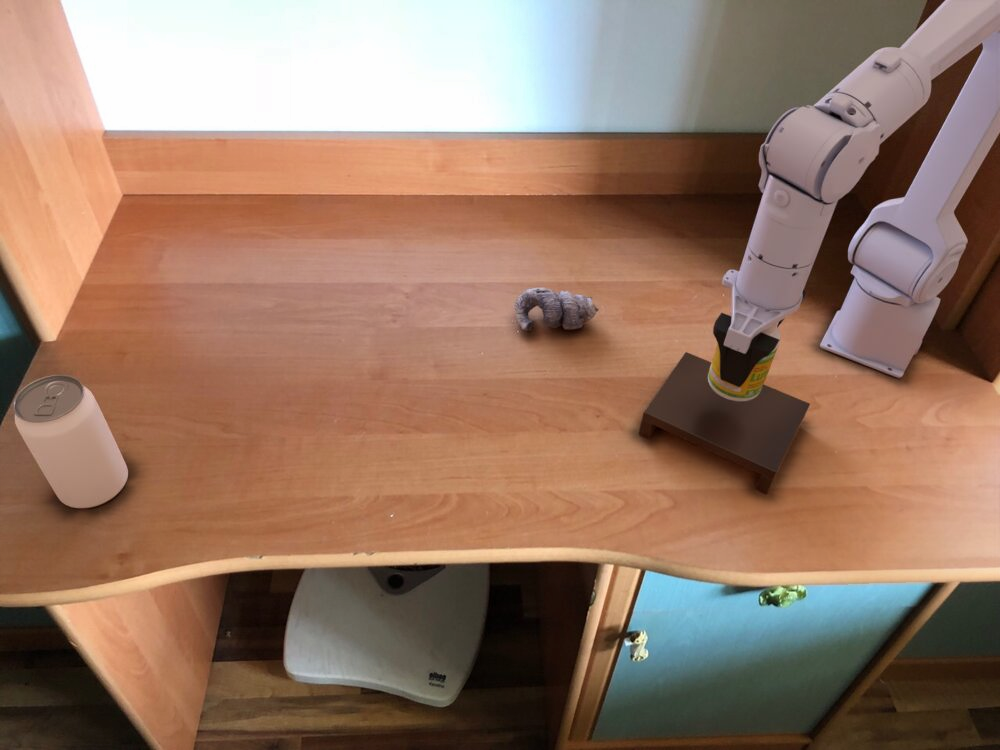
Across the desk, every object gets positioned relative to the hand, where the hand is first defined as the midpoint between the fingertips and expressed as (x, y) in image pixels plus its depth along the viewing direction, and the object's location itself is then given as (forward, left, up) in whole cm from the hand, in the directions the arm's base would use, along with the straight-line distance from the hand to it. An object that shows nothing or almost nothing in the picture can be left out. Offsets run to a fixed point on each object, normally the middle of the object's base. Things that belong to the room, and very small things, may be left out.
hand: (742, 363), depth 78 cm
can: (+48, +41, -10) cm, 64 cm away
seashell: (+23, -5, -10) cm, 25 cm away
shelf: (0, 0, -10) cm, 10 cm away
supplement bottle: (0, 0, -3) cm, 3 cm away
